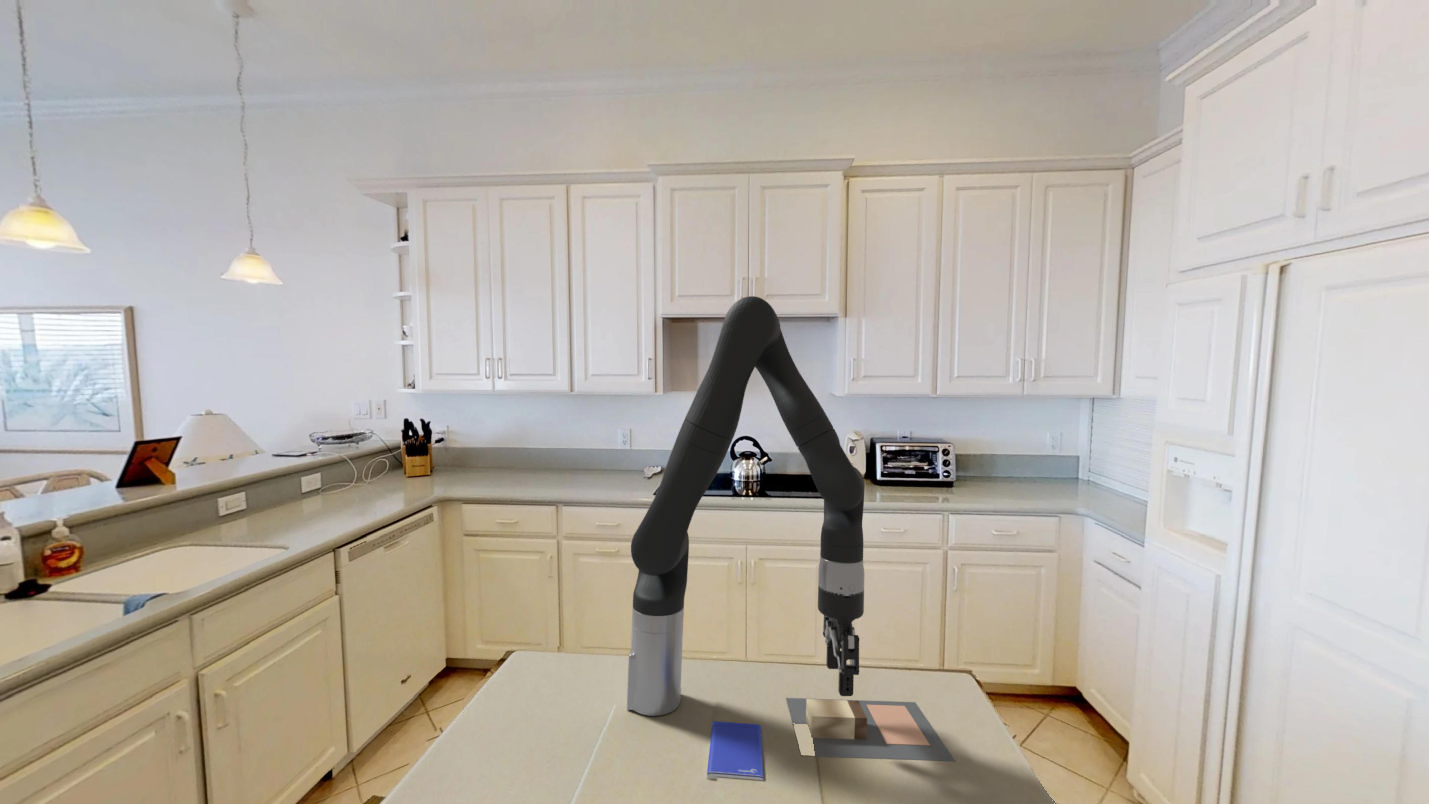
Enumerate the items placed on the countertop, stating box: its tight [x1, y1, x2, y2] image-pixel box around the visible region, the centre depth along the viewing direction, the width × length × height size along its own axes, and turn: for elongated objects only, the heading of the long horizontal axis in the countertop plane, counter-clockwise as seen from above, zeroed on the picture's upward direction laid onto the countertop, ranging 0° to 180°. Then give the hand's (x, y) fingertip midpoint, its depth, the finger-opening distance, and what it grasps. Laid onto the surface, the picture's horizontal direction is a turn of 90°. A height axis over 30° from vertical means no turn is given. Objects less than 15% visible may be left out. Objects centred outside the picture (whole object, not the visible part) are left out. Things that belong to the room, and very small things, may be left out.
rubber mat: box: [785, 697, 956, 762], centre depth 89 cm, size 24×16×1 cm, turn 90°
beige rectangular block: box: [806, 698, 867, 740], centre depth 88 cm, size 9×5×4 cm, turn 90°
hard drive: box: [706, 720, 764, 781], centre depth 82 cm, size 2×8×12 cm
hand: (839, 680), depth 88 cm, fingers open, 8 cm apart
